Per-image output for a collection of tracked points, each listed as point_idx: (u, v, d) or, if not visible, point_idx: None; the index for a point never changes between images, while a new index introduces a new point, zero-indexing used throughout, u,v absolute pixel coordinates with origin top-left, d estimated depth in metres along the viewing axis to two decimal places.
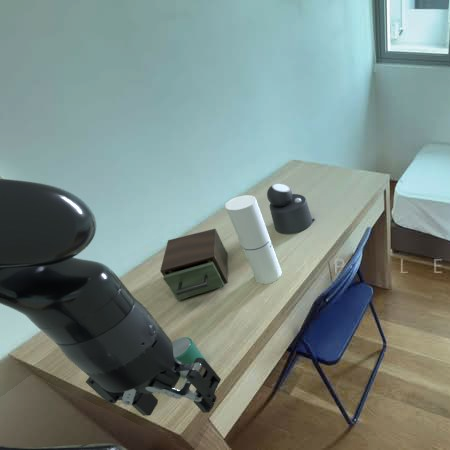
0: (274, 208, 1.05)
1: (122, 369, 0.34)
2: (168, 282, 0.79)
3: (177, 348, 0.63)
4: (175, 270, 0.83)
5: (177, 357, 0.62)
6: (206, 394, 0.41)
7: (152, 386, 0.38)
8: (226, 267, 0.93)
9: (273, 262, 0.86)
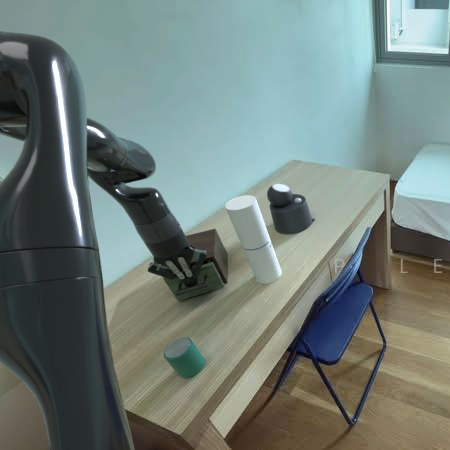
0: (274, 208, 1.05)
1: (171, 239, 0.69)
2: (168, 283, 0.79)
3: (177, 348, 0.63)
4: None
5: (177, 357, 0.62)
6: (196, 269, 0.77)
7: (183, 258, 0.74)
8: (226, 267, 0.93)
9: (273, 262, 0.86)
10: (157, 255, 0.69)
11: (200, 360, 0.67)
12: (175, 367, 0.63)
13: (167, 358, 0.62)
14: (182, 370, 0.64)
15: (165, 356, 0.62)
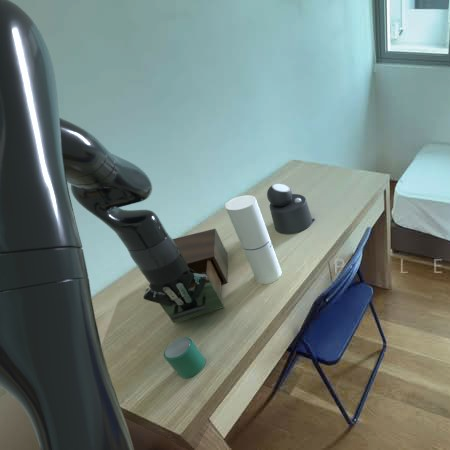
0: (274, 208, 1.05)
1: (169, 265, 0.64)
2: (163, 305, 0.73)
3: (177, 348, 0.63)
4: None
5: (177, 357, 0.62)
6: (196, 295, 0.72)
7: (182, 283, 0.68)
8: (226, 267, 0.93)
9: (273, 262, 0.86)
10: (153, 282, 0.64)
11: (200, 360, 0.67)
12: (175, 367, 0.63)
13: (167, 358, 0.62)
14: (182, 370, 0.64)
15: (165, 356, 0.62)
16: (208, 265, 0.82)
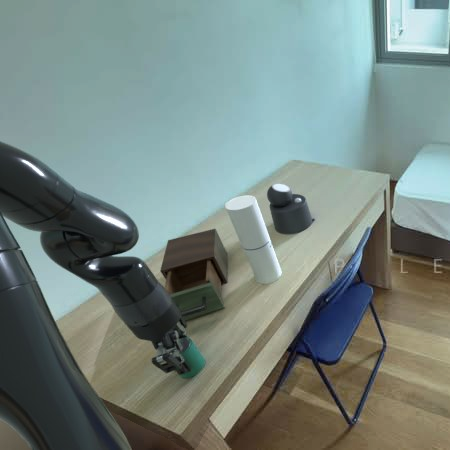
0: (274, 208, 1.05)
1: (126, 325, 0.54)
2: None
3: None
4: (171, 291, 0.77)
5: (177, 357, 0.62)
6: None
7: None
8: (226, 267, 0.93)
9: (273, 262, 0.86)
10: None
11: (200, 360, 0.67)
12: None
13: None
14: None
15: None
16: (208, 265, 0.81)
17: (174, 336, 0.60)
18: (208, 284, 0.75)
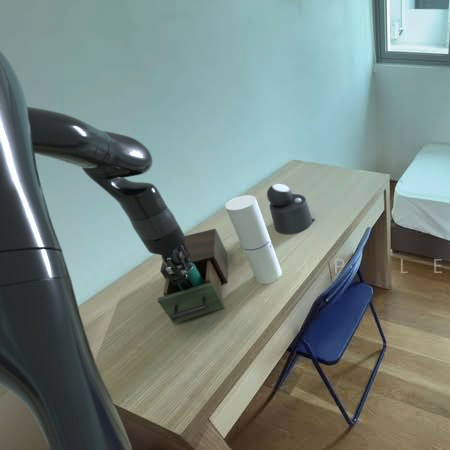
0: (274, 208, 1.05)
1: (142, 240, 0.67)
2: (163, 305, 0.73)
3: None
4: (171, 291, 0.77)
5: None
6: None
7: (162, 258, 0.71)
8: (226, 267, 0.93)
9: (273, 262, 0.86)
10: None
11: (201, 282, 0.79)
12: None
13: None
14: None
15: None
16: (208, 265, 0.81)
17: (180, 255, 0.72)
18: (208, 284, 0.75)
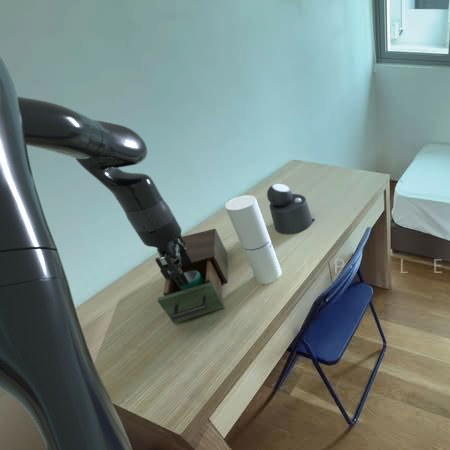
0: (274, 208, 1.05)
1: (137, 232, 0.66)
2: (163, 305, 0.73)
3: (187, 277, 0.78)
4: (171, 291, 0.77)
5: None
6: None
7: (157, 250, 0.70)
8: (226, 267, 0.93)
9: (273, 262, 0.86)
10: None
11: None
12: None
13: None
14: None
15: None
16: (208, 265, 0.81)
17: (175, 247, 0.71)
18: (208, 284, 0.75)
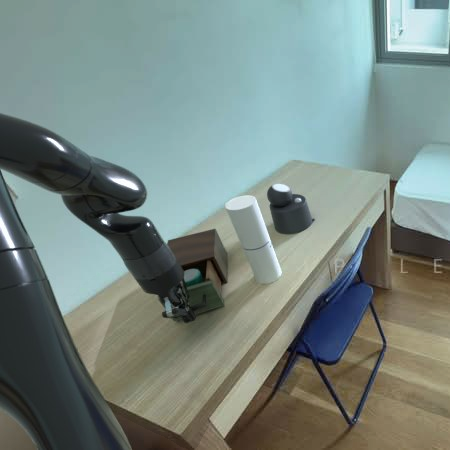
0: (274, 208, 1.05)
1: (135, 279, 0.60)
2: None
3: (187, 275, 0.78)
4: None
5: (187, 281, 0.77)
6: None
7: (159, 298, 0.64)
8: (226, 267, 0.93)
9: (273, 262, 0.86)
10: None
11: None
12: None
13: None
14: None
15: None
16: (208, 263, 0.82)
17: (179, 294, 0.65)
18: (208, 282, 0.76)
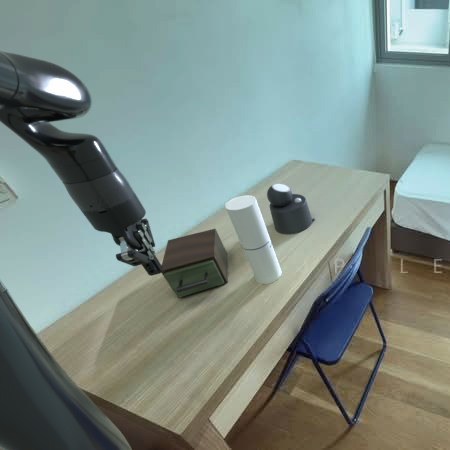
0: (274, 208, 1.05)
1: (82, 212, 0.50)
2: (169, 280, 0.80)
3: None
4: None
5: None
6: None
7: None
8: (226, 267, 0.93)
9: (273, 262, 0.86)
10: None
11: None
12: None
13: None
14: None
15: None
16: None
17: (139, 236, 0.56)
18: (210, 261, 0.83)
